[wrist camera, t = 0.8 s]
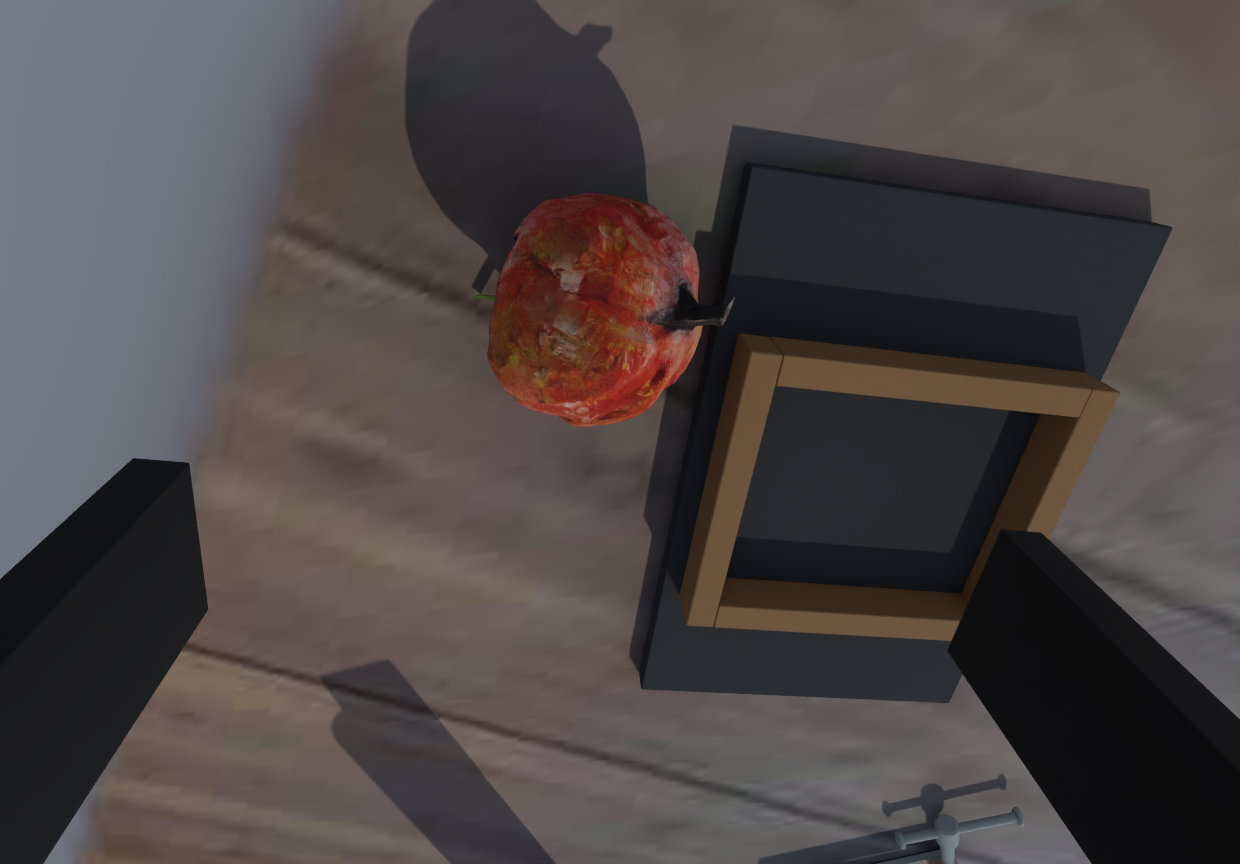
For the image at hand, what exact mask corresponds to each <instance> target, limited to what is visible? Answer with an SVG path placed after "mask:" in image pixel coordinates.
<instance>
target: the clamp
mask: <svg viewBox="0 0 1240 864" xmlns="http://www.w3.org/2000/svg"><path fill="white" fill-rule="evenodd" d="M1011 823H1017V824H1018V825H1019V826H1024V824H1025V820H1024V816H1023V814H1022V812H1021V811H1020V810H1019V809H1018V808H1017V807H1014V808H1013V809H1012V813H1007V814H1002V815H997V816H992V817H987V818H982V819H977V820H972V821H967V822H962V823H958V822H957V821H956V819H954V818H953V817H952V816H950V815H946V814H942V815H939V816H937V817H936V819H935V821H934V828H932V829H927V830H922V831H917V832H912V833H907V834H902V833H901V832H900V831H896V832H895V840H896V843H897V845H898V846H899V847H900V849H902V850H904V849H905V848H906V844H911V843H916V842H921V841H926V840H931V839H936V841H937V843H938V844H939V845H940V850H936V851H931V852H926V853H922V854H917V855H913V856H908V857H904V858H899V859H895V860H890V861H885V862H881V863H876V864H957V862H956V860H955V855H954V848H956V847H957V846H958V844H959V834H961V833H966V832H971V831H976V830H981V829H986V828H991V827H996V826H1001V825H1006V824H1011Z"/></svg>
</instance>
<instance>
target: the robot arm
mask: <svg viewBox="0 0 1240 864" xmlns="http://www.w3.org/2000/svg"><path fill="white" fill-rule="evenodd" d="M207 610H208V604H207V596H206V588H205V581H204V573H203V566H202V558H201V550H200V543H199V535H198V527H197V520H196V512H195V504H194V497H193V489H192V481H191V474H190V466H189V463H185V462H172V461H160V460H148V459H136V458H133V459H132V460H131V461H130V462H129V463H127V464H126V465H125V466H124V467H123V468H122V469H121V470H120V471H119V472H118V473H116V475H114V476H113V477H112V478H111V479H110V480H109V481H108V482H107V483H106V484H104V485H103V486H102V487H101V488H100V489H99V490H98V491H97V492H96V493H95V494H93V495H92V496H91V497H90V498H89V499H88V500H87V501H86V502H85V503H83V504H82V505H81V506H80V507H79V508H78V509H77V510H76V511H75V512H74V513H72V514H71V515H70V516H69V517H68V518H67V519H66V520H65V521H64V522H63V523H62V524H60V525H59V526H58V527H57V528H56V529H55V530H54V531H53V532H52V533H50V534H49V535H48V536H47V537H46V538H45V539H44V540H43V541H42V542H41V543H39V545H37V546H36V547H35V548H34V549H33V550H32V551H31V552H30V553H29V554H28V555H26V556H25V557H24V558H23V559H22V560H21V561H20V562H19V563H18V564H16V565H15V566H14V567H13V568H12V569H11V570H10V571H9V572H8V573H6V574H5V575H4V576H3V577H2V578H1V579H0V864H43V863H44V862H45V860H46V859H47V857H48V855H49V854H50V852H51V851H52V849H53V848H54V846H55V845H56V843H57V841H58V840H59V838H60V837H61V835H62V834H63V832H64V831H65V829H66V828H67V826H68V825H69V823H70V822H71V820H72V818H73V817H74V815H75V814H76V812H77V811H78V809H79V808H80V806H81V805H82V803H83V801H84V800H85V798H86V797H87V795H88V794H89V792H90V791H91V789H92V788H93V786H94V785H95V783H96V781H97V780H98V778H99V777H100V775H101V774H102V772H103V771H104V769H105V768H106V766H107V765H108V763H109V761H110V760H111V758H112V757H113V755H114V754H115V752H116V751H117V749H118V748H119V746H120V744H121V743H122V741H123V740H124V738H125V737H126V735H127V734H128V732H129V731H130V729H131V728H132V726H133V724H134V723H135V721H136V720H137V718H138V717H139V715H140V714H141V712H142V711H143V709H144V707H145V706H146V704H147V703H148V701H149V700H150V698H151V697H152V695H153V694H154V692H155V691H156V689H157V687H158V686H159V684H160V683H161V681H162V680H163V678H164V677H165V675H166V674H167V672H168V671H169V669H170V667H171V666H172V664H173V663H174V661H175V660H176V658H177V657H178V655H179V654H180V652H181V650H182V649H183V647H184V646H185V644H186V643H187V641H188V640H189V638H190V637H191V635H192V634H193V632H194V630H195V629H196V627H197V626H198V624H199V623H200V621H201V620H202V618H203V617H204V615H205V613H206V612H207ZM947 652H948V653H949V655H950V656H951V658H952V659H953V660H954V662H955V663H956V665H957V666H958V668H959V669H960V671H961V672H962V674H963V675H964V677H965V678H966V680H967V681H968V683H969V684H970V685H971V687H972V688H973V690H974V691H975V693H976V694H977V696H978V697H979V699H980V700H981V702H982V703H983V705H984V706H985V708H986V709H987V710H988V712H989V713H990V715H991V716H992V718H993V719H994V721H995V722H996V724H997V725H998V727H999V728H1000V730H1001V731H1002V733H1003V734H1004V735H1005V737H1006V738H1007V740H1008V741H1009V743H1010V744H1011V746H1012V747H1013V749H1014V750H1015V752H1016V753H1017V755H1018V756H1019V758H1020V759H1021V760H1022V762H1023V763H1024V765H1025V766H1026V768H1027V769H1028V771H1029V772H1030V774H1031V775H1032V777H1033V778H1034V780H1035V781H1036V783H1037V784H1038V785H1039V787H1040V788H1041V790H1042V791H1043V793H1044V794H1045V796H1046V797H1047V799H1048V800H1049V802H1050V803H1051V805H1052V806H1053V808H1054V809H1055V810H1056V812H1057V813H1058V815H1059V816H1060V818H1061V819H1062V821H1063V822H1064V824H1065V825H1066V827H1067V828H1068V830H1069V831H1070V832H1071V834H1072V835H1073V837H1074V838H1075V840H1076V841H1077V843H1078V844H1079V846H1080V847H1081V849H1082V850H1083V852H1084V853H1085V855H1086V856H1087V857H1088V859H1089V860H1090V862H1091V863H1092V864H1240V719H1239V718H1238V717H1237V716H1236V715H1234V714H1233V713H1232V712H1231V711H1230V710H1229V709H1228V708H1227V707H1226V706H1225V705H1224V704H1223V703H1222V702H1221V701H1220V700H1219V699H1217V698H1216V697H1215V696H1214V695H1213V694H1212V693H1211V692H1210V691H1209V690H1208V689H1207V688H1206V687H1205V686H1204V685H1203V684H1202V683H1200V682H1199V681H1198V680H1197V679H1196V678H1195V677H1194V676H1193V675H1192V674H1191V673H1190V672H1189V671H1188V670H1187V669H1186V668H1185V667H1184V666H1182V665H1181V664H1180V663H1179V662H1178V661H1177V660H1176V659H1175V658H1174V657H1173V656H1172V655H1171V654H1170V653H1169V652H1168V651H1167V650H1165V649H1164V648H1163V647H1162V646H1161V645H1160V644H1159V643H1158V642H1157V641H1156V640H1155V639H1154V638H1153V637H1152V636H1151V635H1150V634H1148V633H1147V632H1146V631H1145V630H1144V629H1143V628H1142V627H1141V626H1140V625H1139V624H1138V623H1137V622H1136V621H1135V620H1134V619H1133V618H1131V617H1130V616H1129V615H1128V614H1127V613H1126V612H1125V611H1124V610H1123V609H1122V608H1121V607H1120V606H1119V605H1118V604H1117V603H1116V602H1114V601H1113V600H1112V599H1111V598H1110V597H1109V596H1108V595H1107V594H1106V593H1105V592H1104V591H1103V590H1102V589H1101V588H1100V587H1099V586H1097V585H1096V584H1095V583H1094V582H1093V581H1092V580H1091V579H1090V578H1089V577H1088V576H1087V575H1086V574H1085V573H1084V572H1083V571H1082V570H1080V569H1079V568H1078V567H1077V566H1076V565H1075V564H1074V563H1073V562H1072V561H1071V560H1070V559H1069V558H1068V557H1067V556H1066V555H1065V554H1063V553H1062V552H1061V551H1060V550H1059V549H1058V548H1057V547H1056V546H1055V545H1054V544H1053V543H1052V542H1051V541H1050V540H1049V539H1048V538H1047V537H1045V536H1044V535H1043V534H1042V533H1041V532H1029V531H1017V530H1004V529H1001V530H1000V532H999V535H998V537H997V539H996V541H995V544H994V546H993V548H992V550H991V553H990V555H989V557H988V559H987V562H986V564H985V566H984V568H983V571H982V573H981V575H980V577H979V580H978V582H977V584H976V586H975V589H974V591H973V593H972V595H971V598H970V600H969V602H968V604H967V607H966V609H965V611H964V613H963V616H962V618H961V620H960V622H959V625H958V627H957V629H956V631H955V634H954V636H953V638H952V640H951V643H950V645H949V647H948V650H947Z"/></svg>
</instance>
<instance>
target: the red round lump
mask: <svg viewBox="0 0 1240 864" xmlns="http://www.w3.org/2000/svg"><path fill="white" fill-rule="evenodd" d="M514 239H515V240H516V243H515V245H514V247H513V248H512V250H511V251H510V253H509V254H508V256H507V260H506V262H505V264H504V266H503V268H502V270H501V272H500V276H499V279H498V282H497V288H496V296H492V295H477V296H476V298H481V299H489V300H493V301H495V303H494V309H493V310H492V317H491V320H490V325H489V347H488V352H487V357H488V361H489V364H490V366H491V368H492V370H493V371H494V373H495V375H496V377H497V378H498V380H499V382H500V383H501V384H502V385H503V387H504V389H505V390H506V391H507V393H508V394H509V395H510V396H512V397H513V398H514V399H515V400H516V401H517V402H518V403H520V404H521V405H522V406H525V407H527V408H529V409H531V410H536V411H540V412H543V413H546V414H550V415H556V416H558V417H559V418H561V419H562V420H563V421H565V422H567V423H569V424H571V425H573V426H578V427H587V426H595V425H606V424H611V423H615V422H620V421H624V420H627V419H630V418H632V417H635V416H638V415H640V414H642V413H643V412H645V411H646V410H647V409H648V408H649V407H650V406H652V405H653V404H654V403H655V401H656V400H657V398H658V397H659V395H660V394H661V392H662V391H663V390H664V389H666V388H667V387H669V386H670V385H672V384H674V383H675V381H676V380H677V379H678V378H679V376H680V375H681V374H682V373H683V372H684V370H685V369H686V367H687V366H688V364H689V362H690V360H691V358H692V357H693V355H694V352H695V350H696V347H697V345H698V342H699V339H700V336H701V332H702V327H703V325H715V326H722V325H723V324H724V322H725V321H726V318H727V316H728V314H729V311H730V309H731V306H732V304H733V301H734V298H735V297H734V298H733V299H731V300H730V301H729V302H728V303H726V304H725V305H721V306H706V305H701V304H699V302H698V297H697V295H698V285H699V274H700V272H699V265H698V259H697V253H696V251H695V249H694V248H693V246H692V245H691V244H690V243H689V242H688V240H687V239H686V238H685V236H684V235H683V234H682V232H681V231H680V230H679V228H678V227H677V226H676V225H675V223H674V222H673V221H672V220H671V219H670V218H669V217H667V216H666V215H665V214H664V213H662V212H661V211H660V210H658V209H657V208H656V207H655V206H652V205H649V204H645V203H642V202H637V201H634V200H630V199H626V198H621V197H618V196H615V195H605V194H597V193H584V194H579V195H572V196H567V197H565V198H562V199H550V200H546V201H543V202H542V203H540V204H539V205H538V206H537V207H536V208H534V209H533V210H532V211H531V212H530V213H529V214H528V215H527V216H526V217H525V218H524V219H523V220H522V221H521V224H520V226H519V227H518V228H517V229H516V231H515V233H514Z"/></svg>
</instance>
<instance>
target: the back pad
mask: <svg viewBox="0 0 1240 864" xmlns="http://www.w3.org/2000/svg"><path fill="white" fill-rule="evenodd" d="M1171 231H1172V227H1169V226H1165V225H1161V224H1158V223H1154V222H1147V221H1140V220H1134V219H1127V218H1120V217H1113V216H1107V215H1100V214H1093V213H1086V212H1079V211H1073V210H1066V209H1059V208H1052V207H1046V206H1039V205H1032V204H1025V203H1019V202H1012V201H1005V200H998V199H991V198H985V197H978V196H971V195H964V194H958V193H951V192H944V191H937V190H931V189H924V188H917V187H910V186H903V185H897V184H890V183H883V182H876V181H870V180H863V179H856V178H849V177H843V176H836V175H829V174H822V173H815V172H809V171H802V170H795V169H788V168H782V167H775V166H768V165H761V164H755V163H748V162H747V163H746V164H745V167H744V172H743V177H742V182H741V187H740V191H739V196H738V201H737V206H736V211H735V216H734V220H733V225H732V230H731V235H730V240H729V244H728V249H727V254H726V259H725V264H724V269H723V273H722V278H721V283H720V288H719V293H718V297H717V302H716V306H721V305H725V304H726V303H728V302H729V301H730V300H731V299H733V298H734V297H735V298H734V301H733V304H732V306H731V309H730V311H729V314H728V316H727V318H726V321H725V322H724V324H723V325H722V326H715V325H712V326H711V331H710V336H709V341H708V346H707V350H706V355H705V360H704V365H703V370H702V375H701V379H700V384H699V389H698V394H697V399H696V403H695V408H694V413H693V418H692V423H691V428H690V432H689V437H688V442H687V447H686V452H685V456H684V461H683V466H682V471H681V476H680V481H679V485H678V490H677V495H676V500H675V505H674V509H673V514H672V519H671V524H670V529H669V534H668V538H667V543H666V548H665V553H664V558H663V562H662V567H661V572H660V577H659V582H658V587H657V591H656V596H655V601H654V606H653V611H652V615H651V620H650V625H649V630H648V635H647V640H646V644H645V649H644V654H643V659H642V664H641V668H640V673H639V676H640V683H641V689H648V690H671V691H693V692H715V693H738V694H760V695H782V696H805V697H827V698H849V699H872V700H894V701H916V702H939V703H949V701H950V699H951V697H952V695H953V693H954V691H955V689H956V686H957V684H958V682H959V680H960V678H961V676H962V672H961V671H960V669H959V668H958V666H957V665H956V663H955V662H954V660H953V659H952V658H951V656H950V655H949V653H948V652H947V650H948V647H949V645H950V643H951V640H952V638H953V636H954V634H955V631H956V629H957V627H958V625H959V622H960V620H961V618H962V616H963V613H964V611H965V609H966V607H967V604H968V602H969V600H970V598H971V595H972V593H973V591H974V589H975V586H976V584H977V582H978V580H979V577H980V575H981V573H982V571H983V568H984V566H985V564H986V562H987V559H988V557H989V555H990V553H991V550H992V548H993V546H994V544H995V541H996V539H997V537H998V535H999V532H1000V530H1001V529H1004V530H1017V531H1029V532H1041V533H1042V534H1043V535H1044V536H1045V537H1047V538H1048V539H1049V538H1050V536H1051V534H1052V532H1053V530H1054V528H1055V526H1056V523H1057V521H1058V519H1059V517H1060V515H1061V513H1062V511H1063V509H1064V507H1065V505H1066V503H1067V501H1068V499H1069V497H1070V495H1071V493H1072V491H1073V489H1074V487H1075V485H1076V483H1077V480H1078V478H1079V476H1080V474H1081V472H1082V470H1083V468H1084V466H1085V464H1086V462H1087V460H1088V458H1089V456H1090V454H1091V452H1092V450H1093V448H1094V446H1095V444H1096V442H1097V440H1098V438H1099V435H1100V433H1101V431H1102V429H1103V427H1104V425H1105V423H1106V421H1107V419H1108V417H1109V415H1110V413H1111V411H1112V409H1113V407H1114V405H1115V403H1116V401H1117V399H1118V397H1119V395H1120V392H1119V391H1117V390H1115V389H1113V388H1112V387H1110V386H1108V385H1107V384H1105V383H1103V382H1101V379H1102V377H1103V375H1104V373H1105V371H1106V368H1107V366H1108V364H1109V362H1110V360H1111V358H1112V356H1113V354H1114V351H1115V349H1116V347H1117V345H1118V343H1119V341H1120V339H1121V337H1122V334H1123V332H1124V330H1125V328H1126V326H1127V324H1128V322H1129V320H1130V318H1131V315H1132V313H1133V311H1134V309H1135V307H1136V305H1137V303H1138V301H1139V298H1140V296H1141V294H1142V292H1143V290H1144V288H1145V286H1146V284H1147V281H1148V279H1149V277H1150V275H1151V273H1152V271H1153V269H1154V267H1155V265H1156V262H1157V260H1158V258H1159V256H1160V254H1161V252H1162V250H1163V248H1164V245H1165V243H1166V241H1167V239H1168V237H1169V235H1170V233H1171Z"/></svg>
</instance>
